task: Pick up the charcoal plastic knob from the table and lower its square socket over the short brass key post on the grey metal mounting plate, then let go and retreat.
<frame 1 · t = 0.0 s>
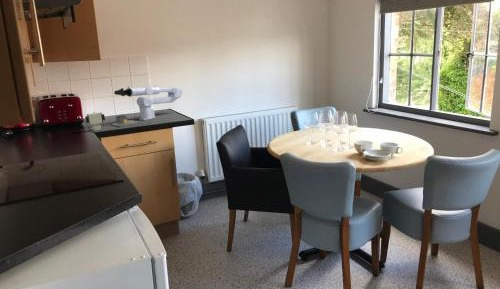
hand: (117, 92, 277), 22 cm above the counter, tool horizontal, fingers open, 7 cm apart
mount plate: (125, 124, 281), on the counter
pneumatic valve: (97, 130, 268), on the counter
knob: (121, 122, 290), on the counter
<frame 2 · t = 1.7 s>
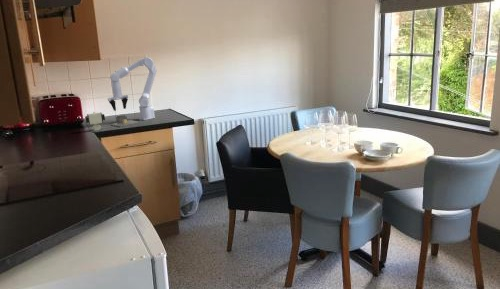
hand: (119, 109, 288), 9 cm above the counter, tool pointing down, fingers open, 7 cm apart
nothing on the counter moved.
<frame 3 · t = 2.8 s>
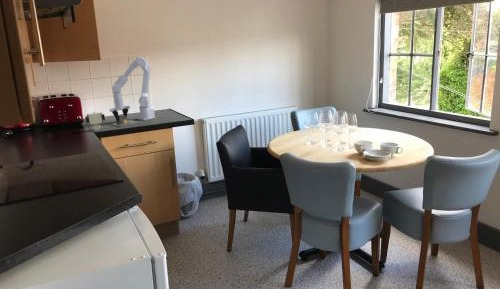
hand: (121, 120, 290), 1 cm above the counter, tool pointing down, fingers closed on knob, 5 cm apart
knob: (121, 122, 290), on the counter, touching gripper
everything else where it was.
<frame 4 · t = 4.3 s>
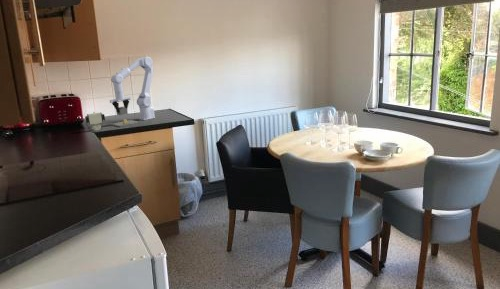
hand: (122, 111, 281), 8 cm above the counter, tool pointing down, fingers closed on knob, 5 cm apart
knob: (122, 114, 281), point 7 cm above the counter, touching gripper
everything else where it was.
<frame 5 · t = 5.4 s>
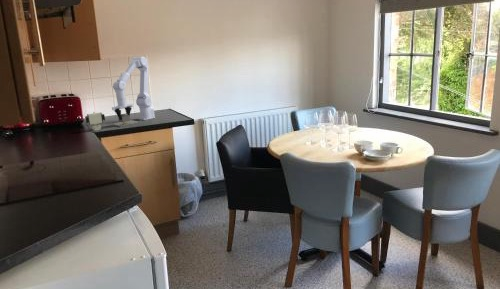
hand: (124, 118, 278), 4 cm above the counter, tool pointing down, fingers closed on knob, 5 cm apart
knob: (124, 121, 279), point 2 cm above the counter, touching gripper
everything else where it was.
when the fingers open (4 cm above the counter, at t = 5.9 s): knob drops 1 cm, resting on mount plate.
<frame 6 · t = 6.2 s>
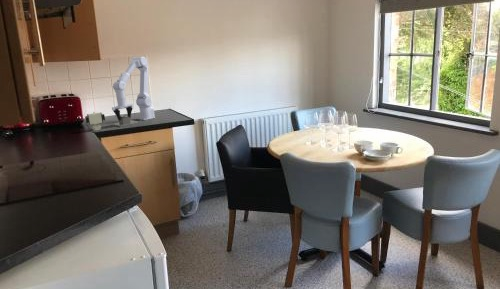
hand: (124, 119, 278), 4 cm above the counter, tool pointing down, fingers open, 7 cm apart
knob: (124, 123, 279), point 1 cm above the counter, touching mount plate
everything else where it was.
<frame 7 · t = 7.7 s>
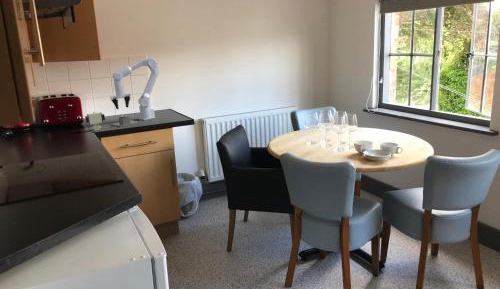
hand: (122, 108, 287), 10 cm above the counter, tool pointing down, fingers open, 7 cm apart
nothing on the counter moved.
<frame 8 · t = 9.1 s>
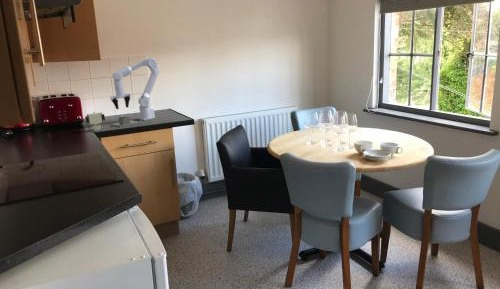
hand: (122, 108, 287), 10 cm above the counter, tool pointing down, fingers open, 7 cm apart
nothing on the counter moved.
at the end: knob 0.4 cm from the target spot on the mount plate, point 1.0 cm above the mount plate's base; the gripper is holding nothing; knob tilted 0° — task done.
